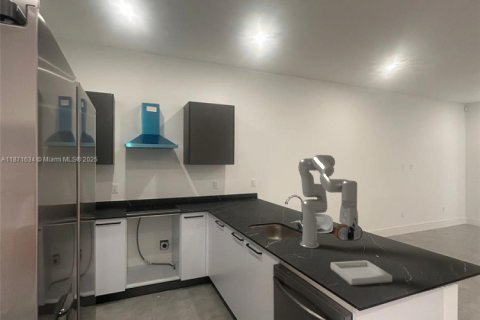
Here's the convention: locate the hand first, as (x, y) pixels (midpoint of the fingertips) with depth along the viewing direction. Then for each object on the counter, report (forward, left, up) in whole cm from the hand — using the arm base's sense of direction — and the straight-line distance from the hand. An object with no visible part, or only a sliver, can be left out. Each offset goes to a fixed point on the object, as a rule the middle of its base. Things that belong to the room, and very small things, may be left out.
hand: (348, 238), depth 128 cm
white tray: (+4, +4, -18) cm, 19 cm away
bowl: (-74, +23, -18) cm, 80 cm away
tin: (0, 0, -1) cm, 1 cm away
